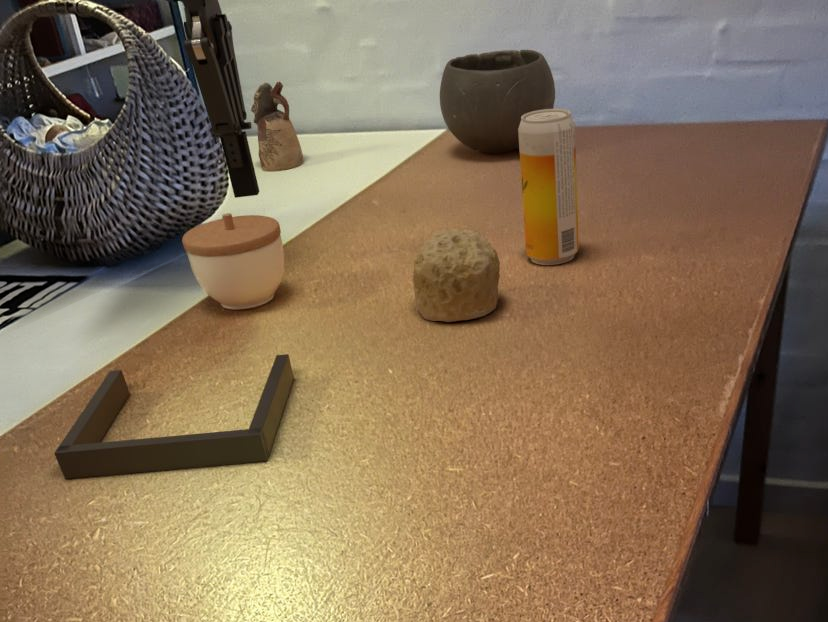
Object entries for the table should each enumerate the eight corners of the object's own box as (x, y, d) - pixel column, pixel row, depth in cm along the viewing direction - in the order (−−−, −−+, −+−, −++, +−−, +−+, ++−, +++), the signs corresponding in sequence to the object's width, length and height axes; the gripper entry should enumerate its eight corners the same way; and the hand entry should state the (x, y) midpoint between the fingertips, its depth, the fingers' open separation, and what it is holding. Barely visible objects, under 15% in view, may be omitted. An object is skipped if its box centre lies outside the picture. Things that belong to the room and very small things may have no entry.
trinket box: (299, 278, 116) (281, 195, 110) (287, 312, 108) (267, 224, 102) (210, 287, 117) (188, 205, 111) (192, 322, 108) (167, 235, 103)
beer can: (550, 245, 117) (544, 105, 107) (589, 254, 113) (586, 110, 104) (515, 261, 114) (505, 118, 104) (554, 270, 110) (547, 123, 101)
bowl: (526, 128, 164) (521, 41, 156) (577, 148, 151) (575, 54, 143) (428, 149, 159) (418, 60, 151) (472, 171, 146) (463, 75, 138)
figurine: (272, 159, 164) (255, 78, 157) (310, 158, 162) (295, 76, 155) (253, 171, 159) (234, 88, 151) (293, 170, 157) (276, 86, 149)
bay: (118, 394, 95) (109, 370, 93) (294, 378, 94) (288, 353, 93) (64, 479, 83) (53, 453, 81) (267, 461, 82) (260, 434, 80)
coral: (434, 291, 109) (426, 220, 104) (513, 294, 106) (508, 220, 101) (402, 323, 102) (391, 249, 97) (485, 327, 99) (478, 251, 94)
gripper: (211, -48, 95) (269, 207, 110) (236, -59, 105) (286, 176, 120) (136, -38, 95) (204, 214, 110) (168, -50, 105) (226, 183, 120)
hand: (247, 194), depth 115 cm, fingers closed
